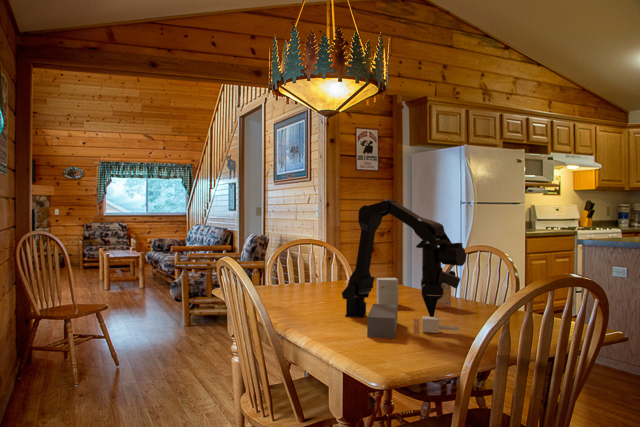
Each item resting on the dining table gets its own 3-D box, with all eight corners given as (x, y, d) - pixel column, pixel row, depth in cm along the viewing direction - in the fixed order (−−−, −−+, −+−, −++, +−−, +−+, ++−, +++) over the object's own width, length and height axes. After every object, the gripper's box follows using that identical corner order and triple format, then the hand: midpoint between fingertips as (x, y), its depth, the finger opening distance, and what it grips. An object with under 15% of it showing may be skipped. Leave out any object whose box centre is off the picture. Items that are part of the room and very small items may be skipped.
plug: (422, 331, 147) (422, 318, 147) (422, 328, 151) (422, 316, 151) (459, 333, 145) (459, 320, 145) (458, 330, 148) (458, 317, 148)
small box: (395, 303, 193) (396, 277, 193) (398, 306, 188) (398, 279, 188) (376, 303, 193) (376, 277, 193) (378, 306, 188) (378, 279, 187)
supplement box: (432, 308, 183) (432, 274, 183) (426, 306, 188) (426, 273, 188) (451, 307, 185) (451, 274, 185) (445, 305, 190) (445, 272, 190)
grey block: (367, 337, 142) (367, 316, 142) (373, 321, 162) (373, 303, 162) (395, 338, 140) (395, 318, 140) (397, 322, 160) (397, 304, 160)
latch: (413, 333, 136) (413, 324, 136) (413, 326, 144) (413, 318, 144) (419, 334, 136) (419, 324, 136) (419, 327, 144) (419, 318, 144)
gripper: (461, 267, 137) (461, 321, 137) (456, 260, 155) (455, 308, 156) (421, 266, 139) (421, 319, 139) (421, 259, 158) (420, 307, 158)
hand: (431, 313), depth 148 cm, fingers open, 9 cm apart
